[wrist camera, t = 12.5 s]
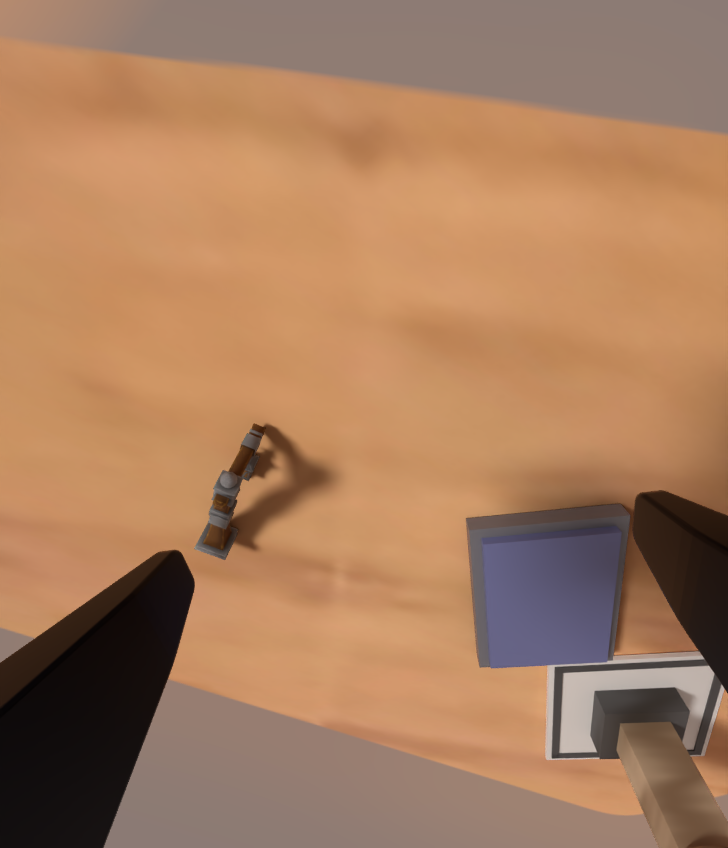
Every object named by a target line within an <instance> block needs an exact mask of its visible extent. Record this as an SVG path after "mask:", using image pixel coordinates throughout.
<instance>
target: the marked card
mask: <svg viewBox="0 0 728 848" xmlns="http://www.w3.org/2000/svg"><path fill="white" fill-rule="evenodd" d="M670 687H675V688H676V690H677V691H678V693H679V694H680V696H681V698H682V699H683V701H684V702H685V704H686V706H687V707H688V709H689V710H690V714H689V718H688V722H687V726H686V730H685V734H684V737H683V741H682V743H683V744H684V746H685V748H686V750H687V751H688V753H689V755H690V756H705V752H706V749H707V746H708V742H709V739H710V736H711V732H712V729H713V726H714V722H715V719H716V716H717V712H718V709H719V706H720V702H721V699H722V696H723V692H724V687H723V686H722V684H721V683H720V681H719V680H718V678H717V677H716V675H715V674H714V672H713V671H712V669H711V668H710V667H709V665H708V664H707V662H706V661H705V659H704V658H703V656H702V655H701V653H700V652H699V651H694V652H675V653H657V654H638V655H619V656H613V661H607V662H603V663H584V664H565V665H547V702H546V743H545V756H546V760H561V759H600V758H599V756H598V753H597V751H596V748H595V746H594V743H593V741H592V738H591V736H590V732H591V722H592V712H593V701H594V691H601V690H624V689H647V688H670Z"/></svg>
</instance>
